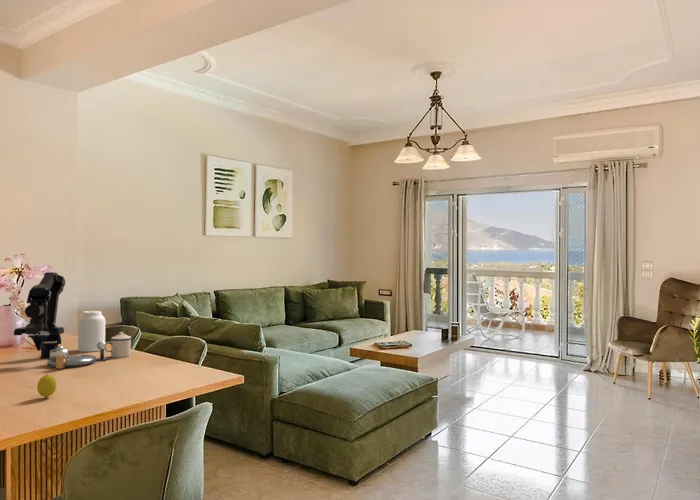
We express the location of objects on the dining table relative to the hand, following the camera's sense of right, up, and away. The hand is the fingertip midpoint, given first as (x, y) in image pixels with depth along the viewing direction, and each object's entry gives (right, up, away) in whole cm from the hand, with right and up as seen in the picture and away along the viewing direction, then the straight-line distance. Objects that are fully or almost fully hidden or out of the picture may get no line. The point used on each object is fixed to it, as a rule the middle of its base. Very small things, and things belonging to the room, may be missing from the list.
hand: (38, 350), depth 227 cm
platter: (+14, -5, 0) cm, 15 cm away
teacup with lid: (+26, -7, +20) cm, 33 cm away
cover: (+8, -4, +1) cm, 9 cm away
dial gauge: (+23, -7, +10) cm, 26 cm away
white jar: (+5, -7, +37) cm, 38 cm away
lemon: (+35, -6, -54) cm, 64 cm away
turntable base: (+14, -6, +1) cm, 15 cm away
